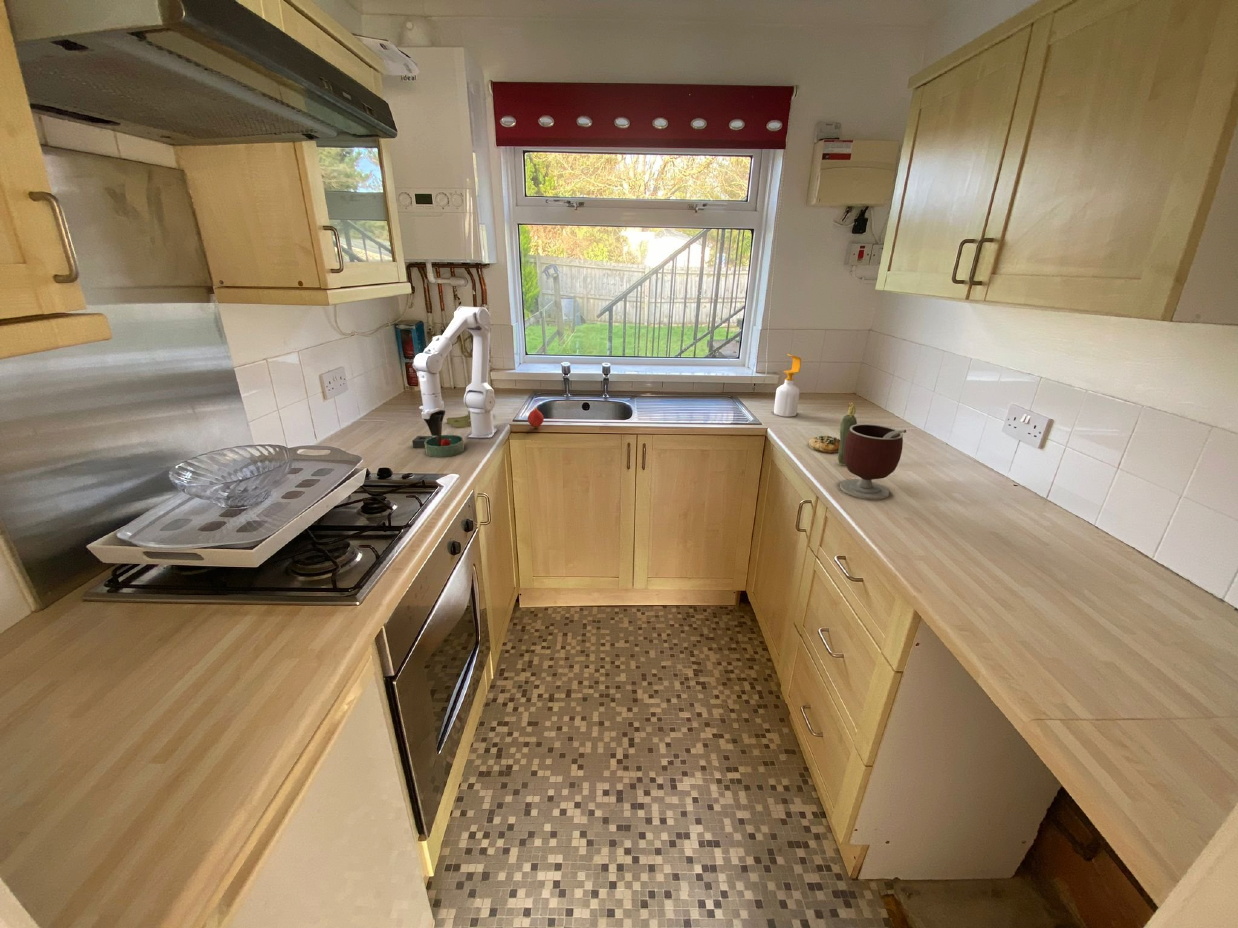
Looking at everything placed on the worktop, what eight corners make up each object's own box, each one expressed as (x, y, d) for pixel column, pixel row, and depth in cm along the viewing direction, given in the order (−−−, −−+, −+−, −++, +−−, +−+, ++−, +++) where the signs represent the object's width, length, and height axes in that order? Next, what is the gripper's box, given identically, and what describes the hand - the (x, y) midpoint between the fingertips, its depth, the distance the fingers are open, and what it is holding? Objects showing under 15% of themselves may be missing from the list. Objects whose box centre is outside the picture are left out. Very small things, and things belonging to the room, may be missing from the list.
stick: (437, 449, 165) (438, 420, 161) (441, 450, 165) (442, 421, 161) (435, 450, 163) (436, 421, 160) (439, 451, 163) (441, 422, 160)
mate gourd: (825, 483, 144) (837, 415, 137) (863, 477, 149) (877, 411, 141) (868, 506, 131) (884, 432, 123) (908, 498, 135) (926, 427, 128)
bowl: (433, 444, 172) (431, 434, 171) (468, 444, 172) (467, 435, 171) (420, 457, 161) (418, 446, 160) (458, 457, 161) (456, 446, 160)
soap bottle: (768, 412, 213) (776, 353, 204) (785, 410, 217) (793, 352, 208) (783, 418, 206) (791, 357, 197) (801, 415, 209) (809, 355, 200)
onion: (525, 429, 189) (523, 408, 186) (534, 425, 194) (533, 404, 191) (537, 431, 186) (536, 410, 183) (547, 427, 191) (546, 406, 188)
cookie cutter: (474, 413, 208) (473, 408, 208) (497, 417, 203) (497, 412, 203) (442, 424, 193) (441, 419, 192) (466, 429, 188) (466, 424, 188)
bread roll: (846, 445, 174) (847, 432, 171) (838, 459, 166) (839, 445, 163) (812, 441, 180) (813, 428, 177) (803, 454, 172) (804, 440, 169)
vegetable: (850, 468, 155) (862, 405, 148) (835, 467, 156) (846, 404, 148) (846, 463, 159) (858, 401, 152) (832, 462, 160) (843, 400, 152)
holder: (418, 442, 174) (417, 435, 173) (433, 443, 174) (432, 436, 173) (413, 447, 169) (412, 440, 168) (428, 447, 169) (427, 440, 168)
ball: (443, 446, 169) (442, 437, 168) (452, 446, 169) (451, 437, 168) (440, 449, 166) (439, 440, 165) (449, 449, 166) (448, 440, 165)
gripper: (426, 387, 164) (431, 427, 169) (409, 398, 150) (415, 441, 155) (448, 387, 164) (453, 427, 169) (433, 398, 150) (438, 442, 155)
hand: (436, 434), depth 162 cm, fingers closed on stick, 1 cm apart
